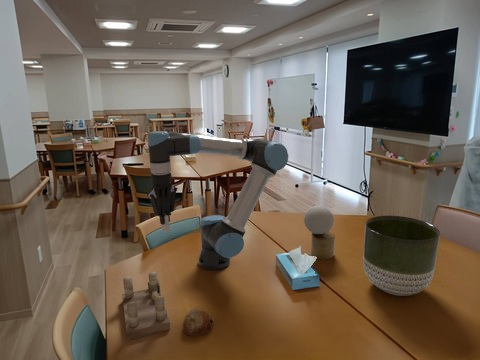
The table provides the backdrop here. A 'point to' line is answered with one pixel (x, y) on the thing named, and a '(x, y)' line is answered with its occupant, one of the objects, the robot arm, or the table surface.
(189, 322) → the bread roll
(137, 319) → the peg board
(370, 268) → the planter
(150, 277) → the hinged leg
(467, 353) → the table surface
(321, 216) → the lamp
